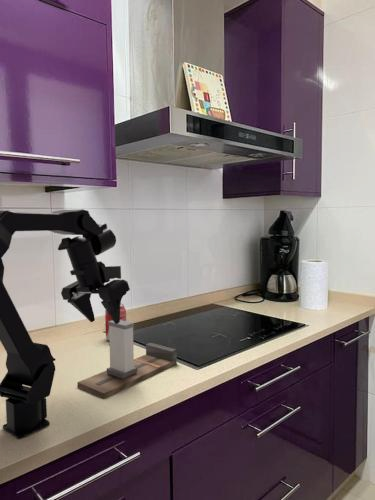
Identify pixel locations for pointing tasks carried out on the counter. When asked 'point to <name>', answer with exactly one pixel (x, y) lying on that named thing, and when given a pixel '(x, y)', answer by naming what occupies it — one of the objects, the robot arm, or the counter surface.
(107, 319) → the soda can
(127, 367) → the fader tab
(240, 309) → the counter surface
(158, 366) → the slider base
